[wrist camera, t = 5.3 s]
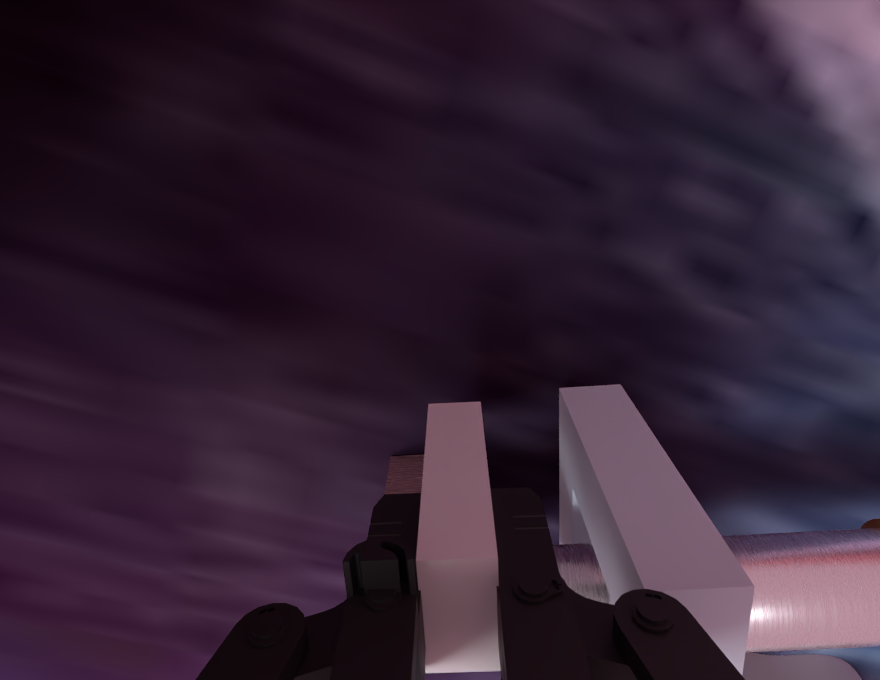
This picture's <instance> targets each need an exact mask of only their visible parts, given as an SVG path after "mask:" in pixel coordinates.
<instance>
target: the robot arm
mask: <svg viewBox="0 0 880 680" xmlns="http://www.w3.org/2000/svg"><path fill="white" fill-rule="evenodd" d="M342 563H343V570H344V577H345V584H346V592H347V599H346V600H345V601H344V602H343V603H341V604H339V605H338V606H336V607H334V608H332V609H329V610H327V611H324V612H321V613H318V614H314V615H311V616H307V617H304V614H303V613H302V612H301V611H300V610H299V609H298V608H297V607H295V606H292V605H290V604H287V603H272V604H268V605H265V606H261V607H258V608H256V609H255V610H253V611H251V612H249V613H248V614H246V615H245V616H244V617H243V618H242V619H241V620H240V621H239V622H238V623H237V624H236V625H235V626H234V628H233V629H232V630H231V632H230V633H229V635H228V636H227V637H226V639H225V640H224V641H223V643H222V644H221V646H220V647H219V648H218V650H217V651H216V652H215V654H214V655H213V657H212V658H211V659H210V661H209V662H208V663H207V665H206V666H205V668H204V669H203V670H202V672H201V673H200V674H199V676H198V677H197V679H196V680H424V675H425V671H426V673H448V672H482V671H501V680H745V679H744V677H743V676H742V675H741V674H740V673H739V671H738V670H737V669H736V668H735V666H734V665H733V664H732V663H731V662H730V660H729V659H728V658H727V657H726V656H725V654H724V653H723V652H722V651H721V649H720V648H719V647H718V646H717V645H716V643H715V642H714V641H713V640H712V638H711V637H710V636H709V635H708V634H707V632H706V631H705V630H704V629H703V628H702V626H701V625H700V624H699V623H698V621H697V620H696V619H695V618H694V617H693V615H692V614H691V613H690V612H689V611H688V609H687V608H686V607H685V606H684V605H682V604H681V603H680V602H679V601H678V600H677V599H675V598H673V597H671V596H669V595H667V594H665V593H663V592H660V591H655V590H650V589H636V590H631V591H629V592H626V593H624V594H622V595H621V596H620V597H619V598H618V600H617V601H616V602H615V605H612V604H608V603H603V602H599V601H595V600H592V599H588V598H585V597H583V596H581V595H580V594H578V593H576V592H574V591H573V590H572V589H571V588H569V587H568V586H567V584H566V582H565V580H564V579H563V578H562V577H561V575H560V573H559V569H558V565H557V561H556V557H555V553H554V549H553V545H552V541H551V537H550V532H549V529H548V524H547V520H546V517H545V512H544V508H543V504H542V500H541V498H540V497H539V496H538V495H537V494H536V493H535V492H534V491H533V490H532V489H531V488H530V487H519V488H493V489H490V482H489V473H488V464H487V455H486V446H485V437H484V427H483V418H482V409H481V402H459V403H437V404H428V415H427V428H426V441H425V453H424V466H423V478H422V491H421V493H404V494H384V496H383V497H382V498H381V499H380V500H379V502H378V503H377V504H376V505H375V506H374V508H373V513H372V518H371V525H370V527H369V532H368V537H367V540H366V541H364V542H362V543H360V544H357V545H356V546H355V547H353V548H352V549H351V550H350V551H349V552H347V554H346V556H345V558H344V560H343V562H342Z"/></svg>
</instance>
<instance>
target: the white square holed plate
mask: <svg viewBox="0 0 880 680" xmlns="http://www.w3.org/2000/svg"><path fill="white" fill-rule="evenodd" d="M579 543H592V545H593V548H594V551H595V554H596V557H597V560H598V563H599V566H600V568H601V571H602V574H603V577H604V580H605V583H606V586H607V589H608V592H609V594H610V604H612V605H615V602H616V601H617V600H618V598H619V597H620V596H621V595H622V594H624V593H626V592H629V591H631V590H636V589H650V590H655V591H660V592H663V593H665V594H667V595H669V596H671V597H673V598H675V599H677V600H678V601H679V602H680V603H681V604H682V605H684V606H685V607H686V608H687V609H688V611H689V612H690V613H691V614H692V615H693V617H694V618H695V619H696V620H697V621H698V623H699V624H700V625H701V626H702V628H703V629H704V630H705V631H706V632H707V634H708V635H709V636H710V637H711V638H712V640H713V641H714V642H715V643H716V645H717V646H718V647H719V648H720V649H721V651H722V652H723V653H724V654H725V656H726V657H727V658H728V659H729V660H730V662H731V663H732V664H733V665H734V666H735V668H736V669H737V670H738V671H739V673H740V674H741V675H742V674H743V666H744V659H745V652H746V645H747V638H748V631H749V623H750V616H751V609H752V602H753V595H754V588H755V586H754V584H753V583H752V581H751V580H750V578H749V577H748V575H747V574H746V572H745V571H744V569H743V568H742V566H741V565H740V563H739V562H738V560H737V559H736V557H735V556H734V554H733V553H732V551H731V550H730V548H729V547H728V545H727V544H726V542H725V541H724V539H723V538H722V536H721V535H720V533H719V532H718V530H717V529H716V527H715V526H714V524H713V523H712V521H711V520H710V518H709V517H708V515H707V514H706V512H705V511H704V509H703V508H702V506H701V505H700V503H699V502H698V500H697V499H696V497H695V496H694V494H693V493H692V491H691V490H690V488H689V487H688V485H687V484H686V482H685V481H684V479H683V478H682V476H681V475H680V473H679V472H678V470H677V469H676V467H675V466H674V464H673V463H672V461H671V460H670V458H669V457H668V455H667V454H666V452H665V451H664V449H663V448H662V446H661V445H660V443H659V442H658V440H657V439H656V437H655V436H654V434H653V433H652V431H651V430H650V428H649V427H648V425H647V424H646V422H645V420H644V419H643V417H642V416H641V414H640V413H639V411H638V410H637V408H636V407H635V405H634V404H633V402H632V401H631V399H630V398H629V396H628V395H627V393H626V392H625V390H624V389H623V387H622V386H621V384H617V385H600V386H584V387H567V388H559V545H560V544H579Z"/></svg>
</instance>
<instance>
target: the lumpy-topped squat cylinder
mask: <svg viewBox="0 0 880 680" xmlns="http://www.w3.org/2000/svg"><path fill="white" fill-rule="evenodd" d="M742 676H743V677H744V679H745V680H862V679H861V677H860V676H859V675H858V673H857V672H856V671H855V669H854V668H853V667H852V666H851V665H850V664H848V663H847V662H845V661H844V660H842V659H839V658H836V657H833V656H828V655H816V654H808V655H784V656H777V655H763V654H757V653H752V652H745V659H744V666H743V674H742Z"/></svg>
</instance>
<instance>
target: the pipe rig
mask: <svg viewBox="0 0 880 680" xmlns="http://www.w3.org/2000/svg"><path fill="white" fill-rule="evenodd" d="M423 466H424V454H423V455H406V456H391V457H390V463H389V469H388V476H387V482H386V488H385V494H404V493H421V491H422V478H423ZM722 538H723V539H724V541H725V542H726V544H727V545H728V547H729V548H730V550H731V551H732V553H733V554H734V556H735V557H736V559H737V560H738V562H739V563H740V565H741V566H742V568H743V569H744V571H745V572H746V574H747V575H748V577H749V578H750V580H751V581H752V583H753V584H754V586H755V588H754V595H753V602H752V609H751V616H750V623H749V631H748V638H747V645H746V652H766V651H788V650H810V649H832V648H854V647H876V646H880V519H872V520H870V521H867V522H866V523H864V524H863V525H862V527H861V528H860V529H848V530H829V531H810V532H790V533H771V534H752V535H733V536H722ZM553 549H554V553H555V557H556V561H557V565H558V569H559V573H560V575H561V577H562V578H563V579H564V580H565V582H566V584H567V586H568V587H569V588H571V589H572V590H573V591H574V592H576V593H578V594H580V595H581V596H583V597H585V598H588V599H592V600H595V601H599V602H603V603H608V604H610V594H609V592H608V589H607V586H606V583H605V580H604V577H603V574H602V571H601V568H600V566H599V563H598V560H597V557H596V554H595V551H594V548H593V545H592V543H579V544H560V545H553Z"/></svg>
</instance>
